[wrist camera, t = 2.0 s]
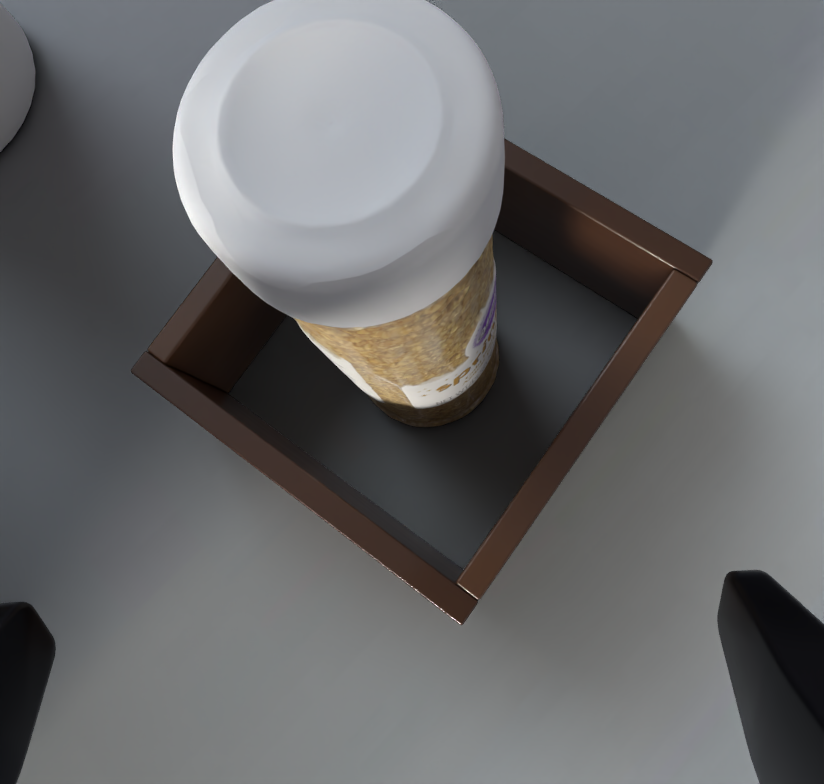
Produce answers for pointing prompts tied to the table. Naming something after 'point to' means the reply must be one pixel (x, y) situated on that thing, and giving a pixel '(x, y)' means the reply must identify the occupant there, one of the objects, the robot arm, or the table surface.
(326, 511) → the crate
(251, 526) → the table surface
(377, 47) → the sprinkles bottle
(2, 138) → the milk bottle
